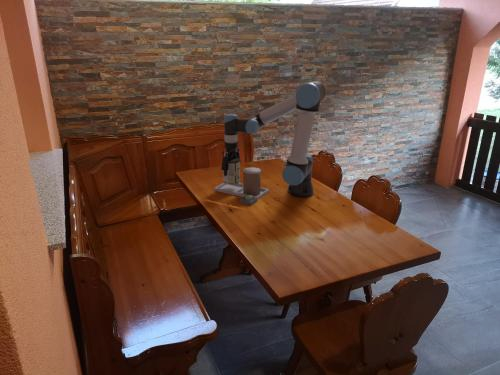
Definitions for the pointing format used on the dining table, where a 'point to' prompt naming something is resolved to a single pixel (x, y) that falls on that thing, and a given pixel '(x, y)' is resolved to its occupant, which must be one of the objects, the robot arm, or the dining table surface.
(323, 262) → the dining table surface
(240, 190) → the pallet board
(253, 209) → the dining table surface
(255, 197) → the button box
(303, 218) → the dining table surface
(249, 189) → the seated tin
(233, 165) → the coffee can
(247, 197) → the button
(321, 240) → the dining table surface
